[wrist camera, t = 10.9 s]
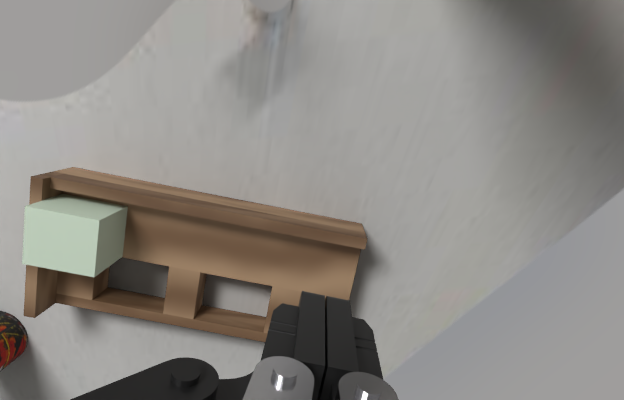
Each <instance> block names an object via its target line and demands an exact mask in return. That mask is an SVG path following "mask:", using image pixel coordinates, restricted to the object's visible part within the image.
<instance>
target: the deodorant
mask: <svg viewBox="0 0 624 400" xmlns="http://www.w3.org/2000/svg"><path fill="white" fill-rule="evenodd" d="M27 340H28V339H27V333H26V330H25V328H24V326H23V325H22V324H21V322H20V321H19V320H18V319H17V318H15V317H14V316H12V315H11V314H9V313H6V312H3V311H0V371H1V370H3V369H4V368H5V367H6V366H7V365H9V364H10V363H11V362H12V361H14V360H15V359H16V358H17V357H19V356H20V355H21V354H22V353H23V352H24V350H25V348H26V346H27Z"/></svg>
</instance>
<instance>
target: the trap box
mask: <svg viewBox="0 0 624 400" xmlns="http://www.w3.org/2000/svg"><path fill="white" fill-rule="evenodd" d="M61 194H67V195H72V196H77V197H82V198H87V199H92V200H97V201H103V202H108V203H113V204H118V205H123V206H128V209H127V219H126V228H125V238H124V248H123V258H128V259H133V260H138V261H144V262H149V263H154V264H159V265H164V266H169V272H168V280H167V287H166V295H165V298H162V297H156V296H151V295H146V294H140V293H135V292H130V291H125V290H119V289H114V288H109V287H108V278H109V268H110V266H109V267H108V268H106V269H105V270H104V271H102V272H101V273H100V274H98V275H97V276H96V277H89V276H84V275H79V274H73V273H68V272H63V271H58V270H52V269H47V268H42V267H36V266H31V265H26V282H25V302H24V316H27V317H33V318H35V317H37V316H38V315H39V314H41V313H42V312H44V311H45V310H46V309H48V308H49V307H51V306H52V305H53V304H55V303H60V304H65V305H70V306H76V307H81V308H86V309H92V310H97V311H102V312H107V313H113V314H118V315H123V316H129V317H134V318H139V319H145V320H150V321H155V322H161V323H166V324H171V325H177V326H182V327H187V328H193V329H198V330H203V331H209V332H214V333H219V334H225V335H230V336H235V337H241V338H246V339H251V340H257V341H262V342H266V338H267V334H268V330H269V325H270V322H271V317H272V313H273V310H274V309H275V308H277V307H278V306H279V305H280V304H282V303H284V304H289V305H294V306H298V305H299V300H300V296H301V292H302V291H305V292H310V293H315V294H320V295H325V298H326V296H330V297H335V298H340V299H345V300H349V298H350V294H351V289H352V285H353V281H354V277H355V272H356V268H357V264H358V259H359V255H360V251H361V249H364V250H365V247H366V243H367V237H366V234H365V232H364V229H363V226H362V224H360V223H355V222H350V221H345V220H340V219H335V218H330V217H324V216H319V215H314V214H309V213H304V212H299V211H294V210H289V209H284V208H279V207H273V206H268V205H263V204H258V203H253V202H248V201H243V200H238V199H233V198H228V197H223V196H217V195H212V194H207V193H202V192H197V191H192V190H187V189H182V188H177V187H172V186H166V185H161V184H156V183H151V182H146V181H141V180H136V179H131V178H126V177H121V176H116V175H110V174H105V173H100V172H95V171H90V170H85V169H80V168H75V167H71V168H67V169H63V170H58V171H54V172H49V173H45V174H40V175H36V176H31V184H30V204H33V203H36V202H39V201H42V200H46V199H49V198H52V197H55V196H58V195H61ZM30 204H29V205H30ZM207 274H211V275H217V276H222V277H227V278H232V279H238V280H243V281H248V282H253V283H258V284H264V285H269V286H272V290H271V296H270V301H269V306H268V312H267V317H262V316H257V315H251V314H246V313H241V312H235V311H230V310H225V309H220V308H214V307H209V306H204V305H202V301H203V295H204V288H205V282H206V275H207Z"/></svg>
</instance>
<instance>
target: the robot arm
mask: <svg viewBox="0 0 624 400" xmlns="http://www.w3.org/2000/svg"><path fill="white" fill-rule="evenodd" d="M71 400H399V399H398V397H397V394H396V392H395V391H394V389H393V388H392V387H391V386H390V385H389V384H388V383H387V382H385V381H384V380H383V376H382V372H381V367H380V362H379V358H378V353H377V348H376V344H375V339H374V334H373V330H372V329H371V328H370V326H369V325H368V324H367V323H366V322H365V320H363V319H358V318H353V317H352V314H351V307H350V301H349V300H345V299H340V298H335V297H330V296H326V298H325V295H320V294H315V293H310V292H305V291H302V292H301V296H300V300H299V305H298V306H294V305H289V304H284V303H282V304H280V305H279V306H278V307H277V308H275V309H274V310H273V313H272V317H271V322H270V325H269V330H268V334H267V338H266V342H265V346H264V350H263V354H262V358H261V361H260V362H259V363H258V364H257V365H256V367H255V369H254V371H253V372H252V373H251V374H249V375H247V376H244V377H241V378H236V379H219V376H218V373H217V372H216V370H215V369H214V368H213V367H212V366H211V365H210V364H208V363H206V362H205V361H202V360H199V359H195V358H176V359H172V360H169V361H166V362H163V363H161V364H158V365H156V366H153V367H151V368H148V369H146V370H143V371H141V372H138V373H136V374H133V375H131V376H128V377H126V378H123V379H121V380H118V381H116V382H113V383H111V384H108V385H106V386H103V387H101V388H98V389H96V390H93V391H91V392H88V393H86V394H83V395H81V396H78V397H76V398H73V399H71Z"/></svg>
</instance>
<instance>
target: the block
mask: <svg viewBox="0 0 624 400" xmlns="http://www.w3.org/2000/svg"><path fill="white" fill-rule="evenodd" d="M127 209H128V206H123V205H118V204H113V203H108V202H103V201H97V200H92V199H87V198H82V197H77V196H72V195H67V194H61V195H58V196H55V197H52V198H49V199H46V200H42V201H39V202H36V203H33V204H30V205H27V206H25V216H24V236H23V257H22V264H26V265H31V266H36V267H42V268H47V269H52V270H58V271H63V272H68V273H73V274H79V275H84V276H89V277H96V276H97V275H98V274H100V273H101V272H102V271H104V270H105V269H106V268H108V267H109V266H111V265H112V264H113V263H115V262H116V261H117V260H119V259H120V258H121V257H123V248H124V238H125V228H126V219H127Z"/></svg>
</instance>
